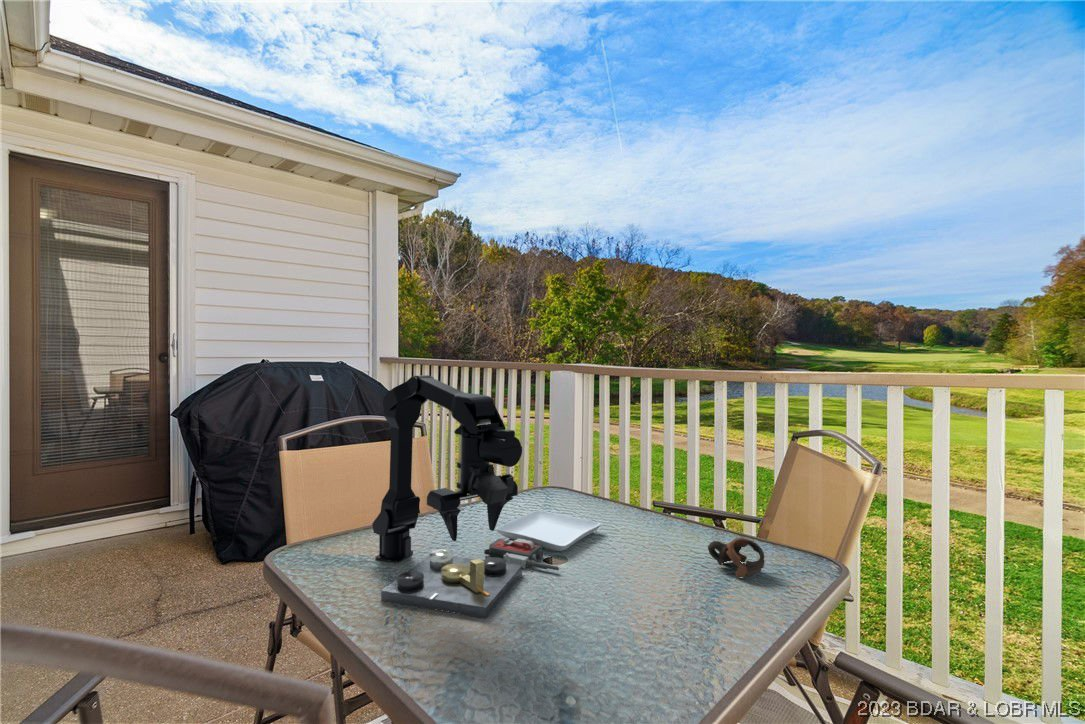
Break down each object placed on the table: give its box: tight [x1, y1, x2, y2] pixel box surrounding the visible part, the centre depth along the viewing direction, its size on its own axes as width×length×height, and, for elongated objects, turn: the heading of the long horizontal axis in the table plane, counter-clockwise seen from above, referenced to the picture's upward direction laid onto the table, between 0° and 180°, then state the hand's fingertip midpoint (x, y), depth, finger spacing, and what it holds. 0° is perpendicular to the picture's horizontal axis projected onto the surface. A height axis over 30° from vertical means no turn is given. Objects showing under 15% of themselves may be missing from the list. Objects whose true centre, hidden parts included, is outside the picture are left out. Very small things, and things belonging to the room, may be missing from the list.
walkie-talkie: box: [483, 537, 560, 571], centre depth 121 cm, size 9×4×20 cm
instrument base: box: [380, 548, 523, 619], centre depth 107 cm, size 22×20×5 cm
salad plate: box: [494, 509, 602, 552], centre depth 138 cm, size 21×21×3 cm
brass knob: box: [441, 558, 484, 593], centre depth 105 cm, size 12×6×6 cm, turn 40°
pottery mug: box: [707, 537, 766, 578], centre depth 117 cm, size 12×10×8 cm
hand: (473, 535), depth 105 cm, fingers open, 9 cm apart
